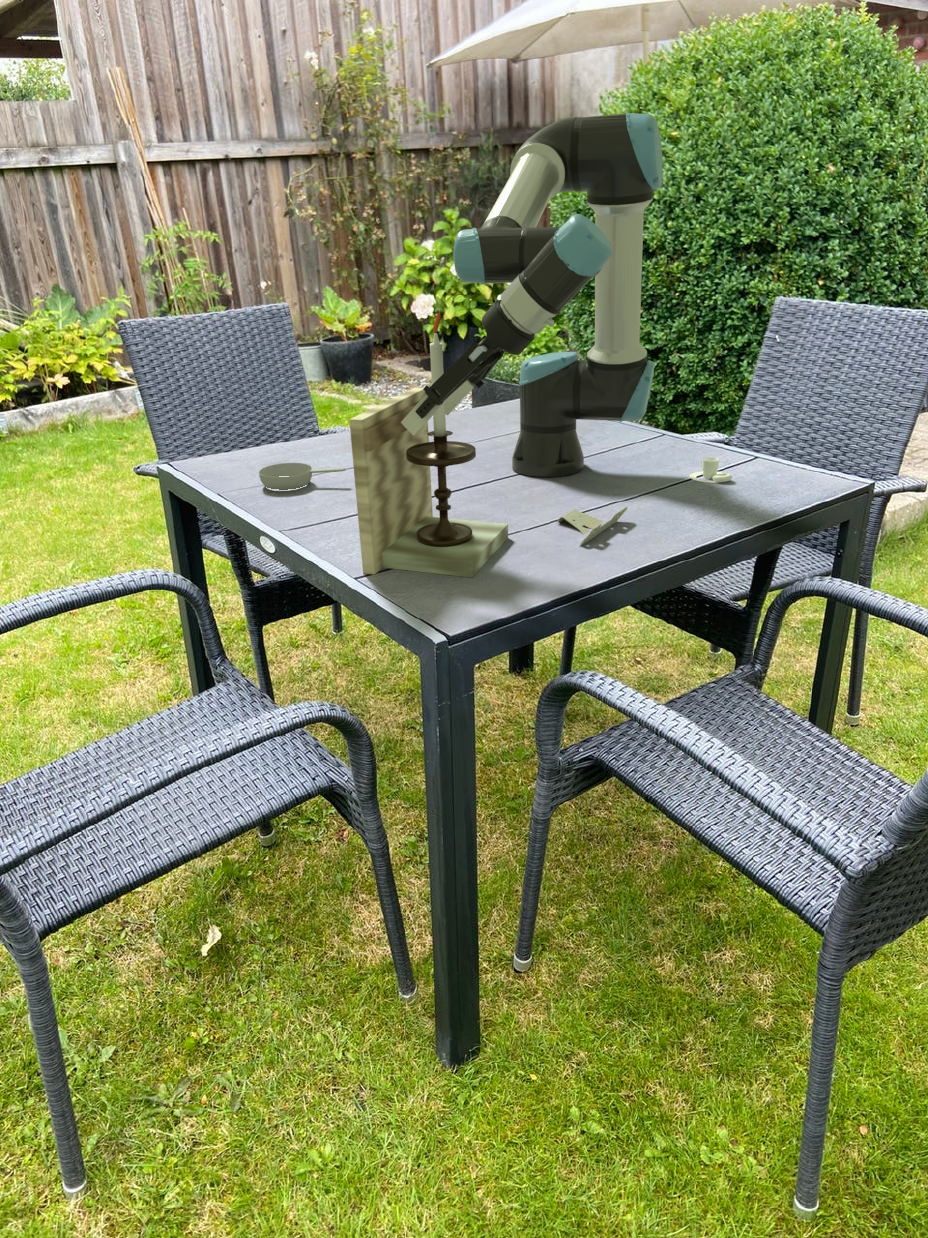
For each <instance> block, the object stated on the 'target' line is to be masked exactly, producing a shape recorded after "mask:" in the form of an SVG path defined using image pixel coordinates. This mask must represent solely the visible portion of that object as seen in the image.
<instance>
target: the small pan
mask: <svg viewBox="0 0 928 1238" xmlns="http://www.w3.org/2000/svg"><path fill="white" fill-rule="evenodd" d="M346 470H347V469H346V467H333V468H318V469H316V468H315V469H313V467H312V466H311V465H310V464H307V463H303V462H283V463H277V464H271V465H267V466H265V467H264V466H263V467H262V468H260V469H259V470H258V474H259V480H260V482H261V484H262V485H263V486H264V487H265V488H266V487H267V488H271V489H279V490H288V489H296V488H300V487H303V486H305V485H307V484H308V483H309V484H310V482H311V480H312V478H313V477H312V476H313V474H318V473H322V474H323V473H335V472H336V473H338V472H346ZM279 476H289V477H279ZM309 484H308V485H309ZM267 488H266V489H267Z"/></svg>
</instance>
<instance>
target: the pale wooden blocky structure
mask: <svg viewBox="0 0 928 1238" xmlns="http://www.w3.org/2000/svg"><path fill="white" fill-rule="evenodd" d="M423 389H424V387H418V386H417V387H412V388H410V389H409V390H406V391H405V392H402V393H400V394H399V395H397V396H394V397H392V398H391V399H388V400H387V401H384V402H382V403H380V404H378V405H376V406H374V407H372V408H370V409H368V410H366V411H364V412H361V413H360V414H358V415H355V416H354V417H351V418H350V419H349V428H350V429H349V432H350V442H351V443H350V444H351V454H352V464H353V475H354V484H355V485H354V486H355V487H354V488H355V498H356V508H357V518H358V520H357V521H358V530H359V531H358V532H359V541H360V542H359V543H360V552H361V553H360V555H361V566H362V572H363V574H367V575H376V574H377V573H378V572H379V571H381V570H382V569H383V568H385V569H391V570H393V569H394V570H402V571H403V570H404V571H410V572H419V573H430V574H437V575H438V574H439V575H447V576H454V577H455V576H457V577H465V578H473V577H474V576H475V575H476V574H477V573H478V572H479V571H480V569H482V567H483V566H484V565H485V564H486V563H487V561H489V560H490V558H491V557H492V556H494V554H495V553H496V552H497V551H498V550H499V549H500V548H501V547H502V545H504V543H505V542H506V541H507V540H508V539H509V524H508V523H501V522H489V521H481V520H470V519H469V520H467V519H461V518H460V519H459V518H449V517H448V520H449V522H453V523H460V524H464V525H467V526H469V527H470V528H471V529H472V539H471V540H470V541H468V542H466V543H464V544H461V545H457V546H451V547H433V546H428V545H424V544H422V543H420V542H419V541H418V540H417V531H418V530H419V529H420V528H422V527H423V526H426V525H430V524H434V523H438V522H439V520H440V517H438V516H437V517H436V516H433V515H434V512H433V496H432V475H431V466H423V465H417V464H413V463H411V462H409V461H408V460H407V459H406V450H407V449H408V448H410V447H412V446H414V445H417V444H421V443H427V442H430V436H429V435H427V433H429V420H428V421H427V423H426V424H425V425H424V426H423V427H422V428H421V429H420V430H419V431H418V432H417V433H416V435H414V436H413V435H412V434H411V433H410V432H409V431H408V430H407V429H406V428H405V427H404V425H403V424H402V423H401V421H402V420H403V419H404V418H405V417H406V416H407V415H408V414H409V412H410V411H411V410H412V409H413V408H414V407H415V406H416V405H417V404H418V402H419V401H420V400H421V399H422V398H423V397H424V396H425V395H426V393H425V391H424V390H423Z"/></svg>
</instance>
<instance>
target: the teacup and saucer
mask: <svg viewBox="0 0 928 1238" xmlns="http://www.w3.org/2000/svg"><path fill="white" fill-rule="evenodd" d="M719 465H720V459H719V458H718V457H709V456H708V457H704V458H703V459H701V467H702V471H701V470H700V471H695V472H692V473H691V474H690V475H689V478H690V479H691V480H693V481H696V482H699V483H706V484H719V483H725V482H729V481H731V480H732V478H733V475H732V474H731V473H724V472H721V471H718V470H719ZM701 475H702V476H703V478H704V479H705V480H702V479H698V478H697V476H701ZM710 480H713V481H710Z"/></svg>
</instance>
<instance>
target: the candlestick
mask: <svg viewBox="0 0 928 1238" xmlns="http://www.w3.org/2000/svg"><path fill="white" fill-rule="evenodd" d="M440 321H441V311H440V310H439V311H438V314H437V316H436V317H435V321H434V322H433V327H432V330H433V339H432V342H431V343H429V352H430V353H429V354H430V357H429V358H430V373H431V378H430V379H431V385H432V384H433V383H434V382H436V381H437V380H438V379H439V378H440V377H441V376H442V375H443V374H444V373H445V371H444V370H445V369H444V353H443V352H444V351H443V347H444V346H443V342H440V338H439V335H438V331H439V330H438V329H439V326H440ZM432 419H433V431H428V433H427V435H429V437H433V441H429V442H427V443H421V444H417V445H414V446H412V447H410V448H408V449H407V450H406V459H407V460H408V461H409V462H411V463H413V464H417V465H423V466H430V467H434V468H437V486H438V487H437V488H436V489H435V490H434V492H433V494H434V497H435V499H437V500H438V501H437V502H438V503H437V505H436V506H435V509H436V511H438V512H439V514H438V515H439V518H440V520H439V522H438V523H434V524H430V525H426V526H423V527H422V528H420V529H419V530H418V531H417V540H418V541H419V542H420V543H422V544H424V545H428V546H433V547H451V546H457V545H461V544H464V543H466V542H468V541H470V540H471V539H472V529H471V528H470V527H469V526H467V525H464V524H460V523H453V522H449V520H448V518H449V512H448V511H450V510H451V509H452V506H451V504H449V499H450V498H451V497H452V490H451V488H448V486H447V484H448V483H447V467H449V466H456V465H460V464H466V463H469V462H471V461H473V460H474V459H475V458H476V456H477V454H476V453H477V451H476V446H474V445H472V444H471V443H469V442H468V443H467V442H464V441H463V442H462V441H457V440H456V441H455V440H453V441H451V440H448V437H449V436H452V435H453V431H451V430H447V427H446V426H447V423H446V422H447V421H446V420H447V419H446V414H445V401H444V402H443V404H442V406H441V407H440V408H439V409H438V411H437V412H436V413H435V414H434V415H433V416H432Z"/></svg>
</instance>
